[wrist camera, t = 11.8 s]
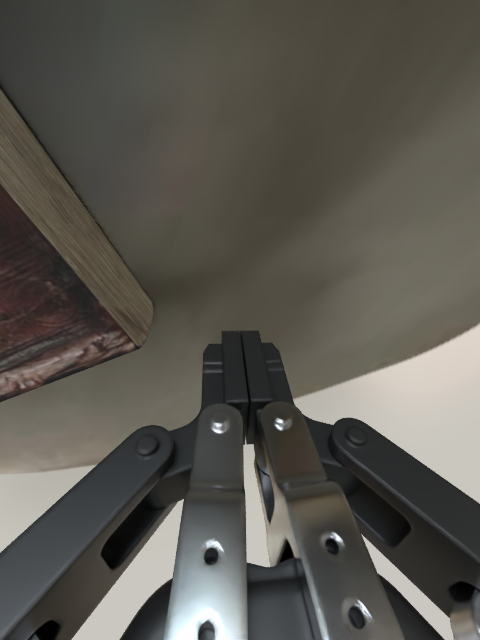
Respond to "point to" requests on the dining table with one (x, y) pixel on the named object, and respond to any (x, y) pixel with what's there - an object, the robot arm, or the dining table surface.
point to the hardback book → (56, 273)
